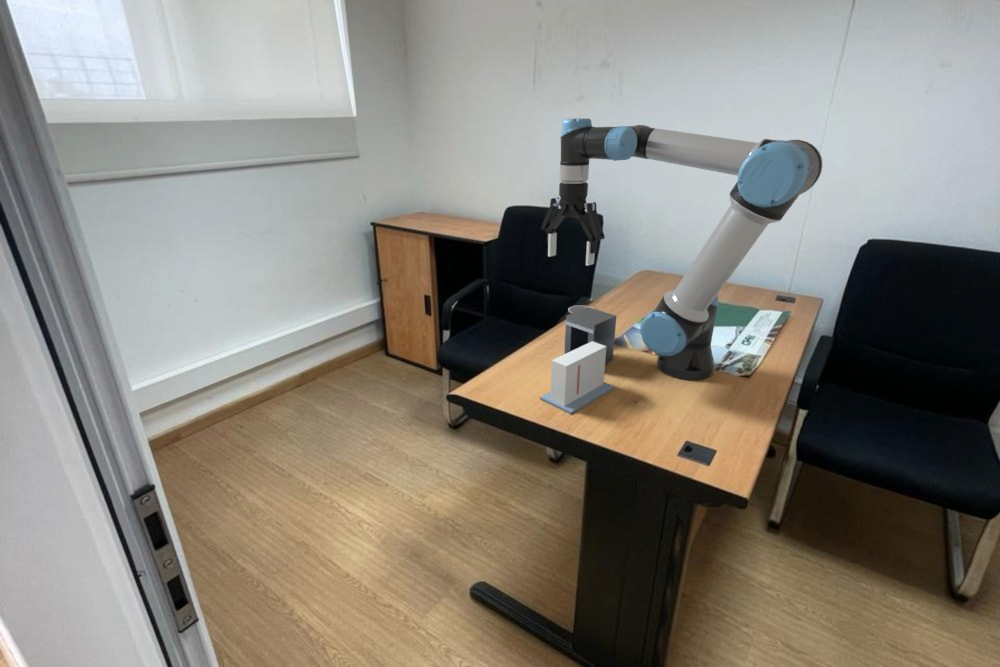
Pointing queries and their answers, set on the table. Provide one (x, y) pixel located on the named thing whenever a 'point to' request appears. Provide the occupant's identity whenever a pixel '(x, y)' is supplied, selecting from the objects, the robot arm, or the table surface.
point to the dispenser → (590, 330)
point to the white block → (577, 373)
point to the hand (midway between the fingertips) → (570, 260)
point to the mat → (582, 400)
